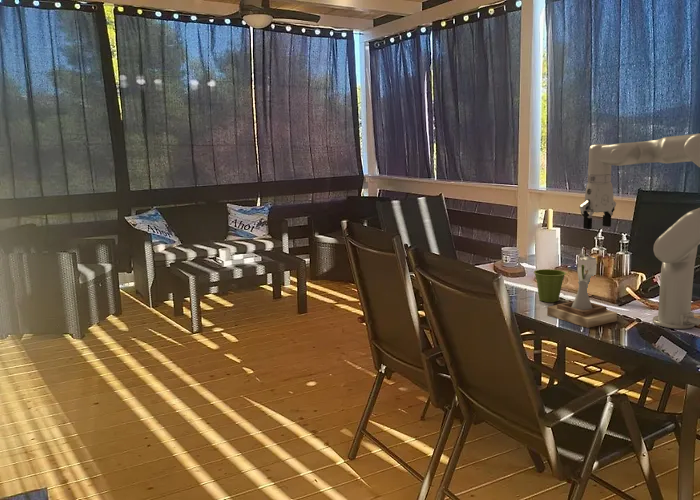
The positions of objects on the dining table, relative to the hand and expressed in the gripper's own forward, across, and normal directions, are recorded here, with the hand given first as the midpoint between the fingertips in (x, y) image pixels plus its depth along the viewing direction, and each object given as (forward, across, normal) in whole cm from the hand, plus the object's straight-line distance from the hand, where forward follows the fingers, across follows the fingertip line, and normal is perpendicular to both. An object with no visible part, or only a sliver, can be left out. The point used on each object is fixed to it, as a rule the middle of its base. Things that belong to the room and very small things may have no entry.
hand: (597, 227), depth 218 cm
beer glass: (+31, +14, +16) cm, 37 cm away
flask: (+28, -12, -5) cm, 30 cm away
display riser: (+30, -12, -5) cm, 33 cm away
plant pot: (+31, -4, +18) cm, 36 cm away
